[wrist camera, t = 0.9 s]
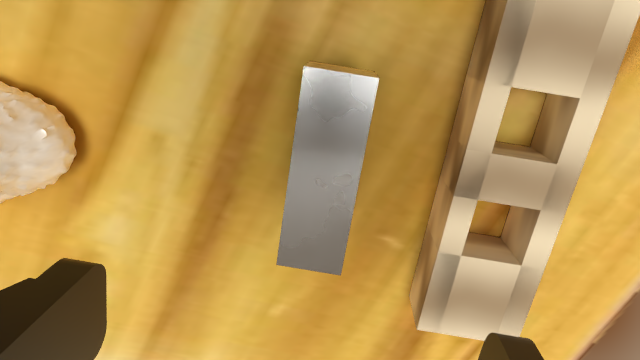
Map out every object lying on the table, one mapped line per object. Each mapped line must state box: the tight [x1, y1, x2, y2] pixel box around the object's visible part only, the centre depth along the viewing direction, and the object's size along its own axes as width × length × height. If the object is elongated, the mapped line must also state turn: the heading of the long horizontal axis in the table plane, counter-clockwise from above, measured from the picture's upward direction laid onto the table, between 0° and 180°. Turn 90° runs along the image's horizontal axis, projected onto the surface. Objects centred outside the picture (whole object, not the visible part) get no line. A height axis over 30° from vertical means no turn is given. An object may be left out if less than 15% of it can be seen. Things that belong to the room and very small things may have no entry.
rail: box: [409, 0, 640, 341], centre depth 24 cm, size 20×6×4 cm, turn 171°
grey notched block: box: [276, 61, 379, 275], centre depth 22 cm, size 9×3×8 cm, turn 171°
